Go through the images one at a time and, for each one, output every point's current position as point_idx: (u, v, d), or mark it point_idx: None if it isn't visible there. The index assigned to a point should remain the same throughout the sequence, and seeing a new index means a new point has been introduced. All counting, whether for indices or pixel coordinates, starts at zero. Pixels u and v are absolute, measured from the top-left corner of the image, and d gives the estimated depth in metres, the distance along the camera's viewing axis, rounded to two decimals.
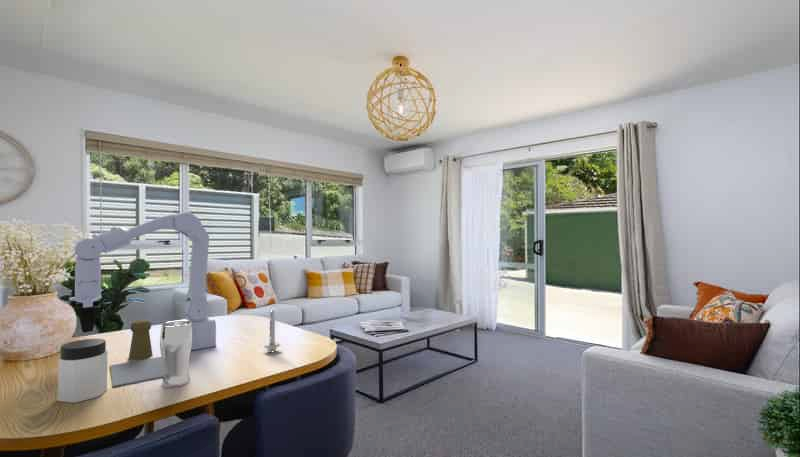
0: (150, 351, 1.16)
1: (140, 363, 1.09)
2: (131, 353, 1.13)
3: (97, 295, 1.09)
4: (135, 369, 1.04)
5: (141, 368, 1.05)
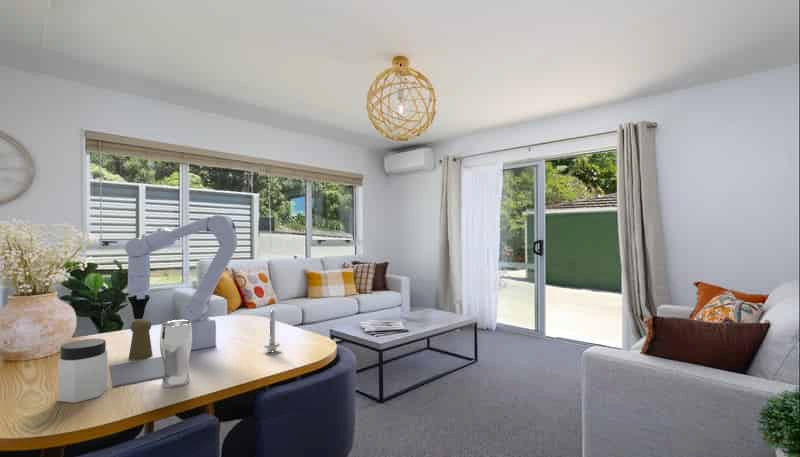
0: (150, 351, 1.16)
1: (140, 363, 1.09)
2: (131, 353, 1.13)
3: (147, 288, 1.22)
4: (135, 369, 1.04)
5: (141, 368, 1.05)
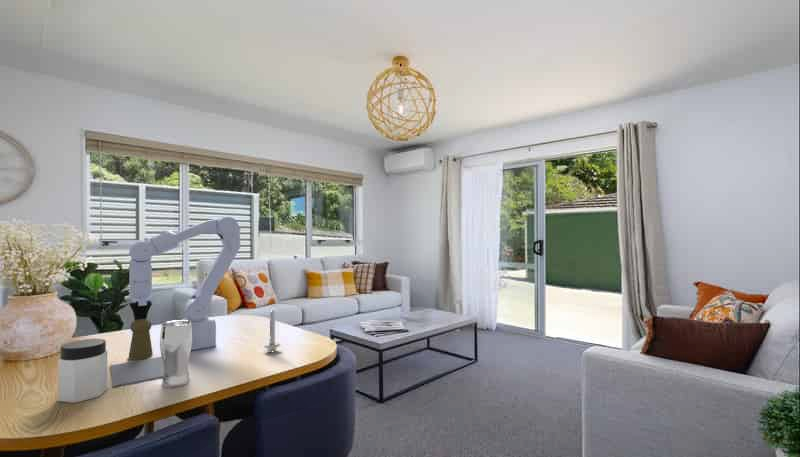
0: (150, 350, 1.16)
1: (140, 363, 1.09)
2: (131, 353, 1.13)
3: (149, 294, 1.17)
4: (135, 369, 1.04)
5: (141, 368, 1.05)
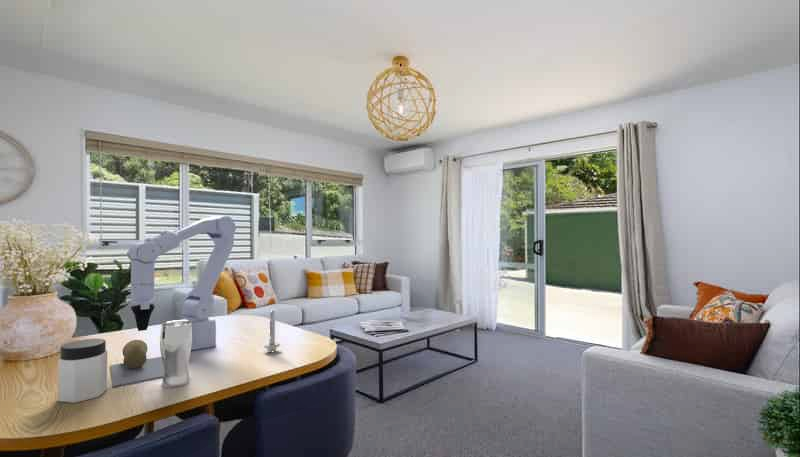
0: (146, 350, 1.13)
1: None
2: None
3: (151, 297, 1.12)
4: (135, 369, 1.04)
5: (141, 368, 1.05)
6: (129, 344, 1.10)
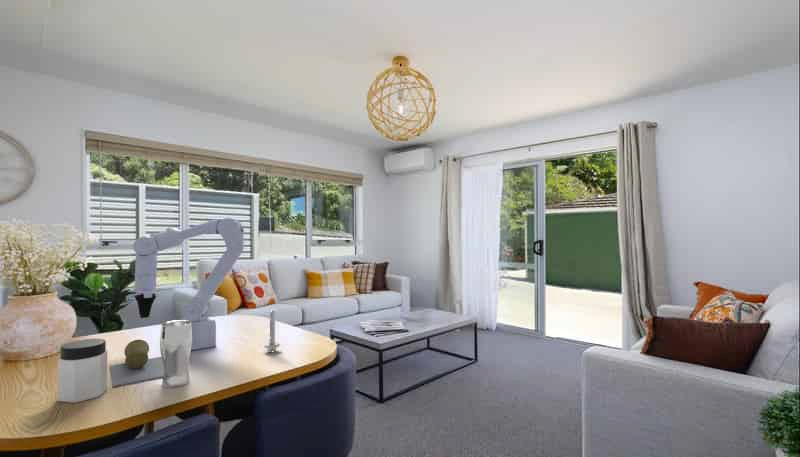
0: None
1: None
2: None
3: (154, 287, 1.22)
4: (135, 369, 1.04)
5: (141, 368, 1.05)
6: (132, 343, 1.11)
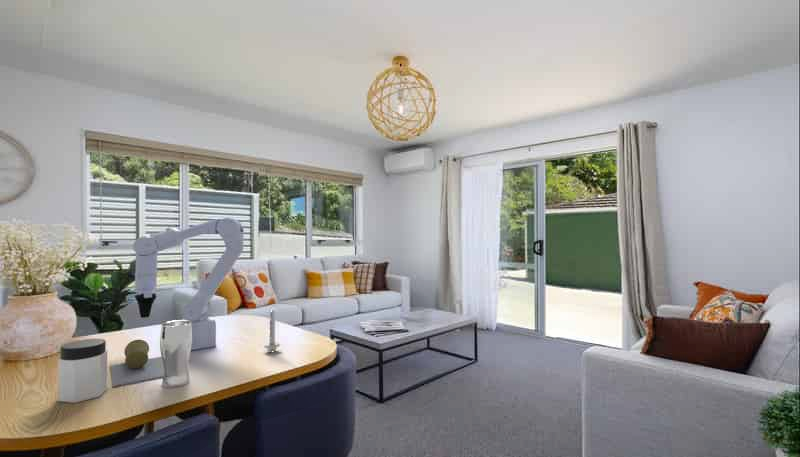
0: None
1: None
2: None
3: (154, 287, 1.22)
4: (135, 369, 1.04)
5: (141, 368, 1.05)
6: (132, 343, 1.11)
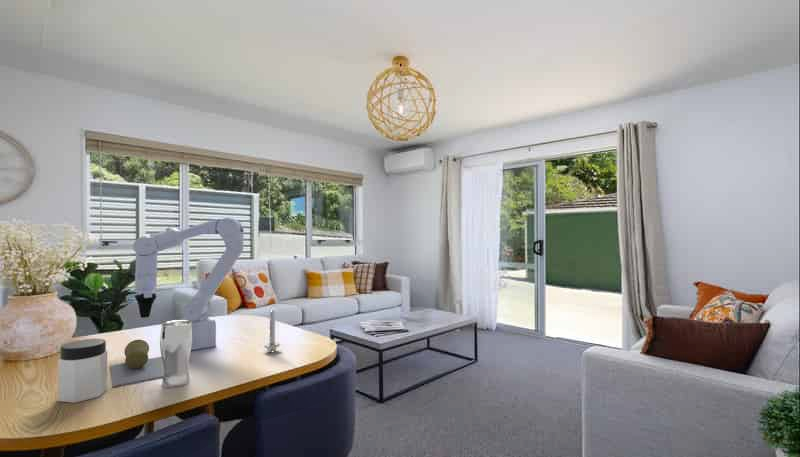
0: None
1: None
2: None
3: (154, 287, 1.22)
4: (135, 369, 1.04)
5: (141, 368, 1.05)
6: (132, 343, 1.11)
